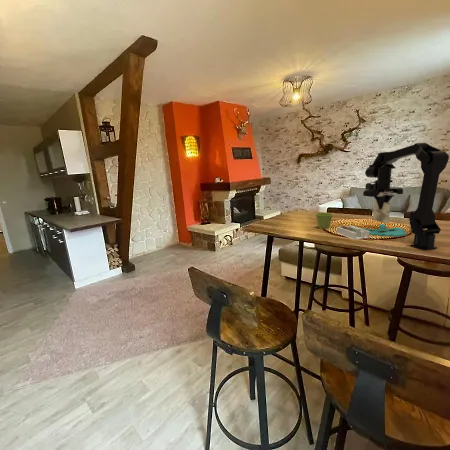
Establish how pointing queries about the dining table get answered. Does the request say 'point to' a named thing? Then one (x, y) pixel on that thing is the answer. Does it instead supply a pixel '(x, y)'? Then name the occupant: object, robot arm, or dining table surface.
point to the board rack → (353, 233)
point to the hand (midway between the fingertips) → (381, 208)
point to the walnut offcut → (346, 227)
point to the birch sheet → (381, 212)
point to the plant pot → (324, 219)
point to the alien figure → (387, 231)
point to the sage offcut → (356, 231)
